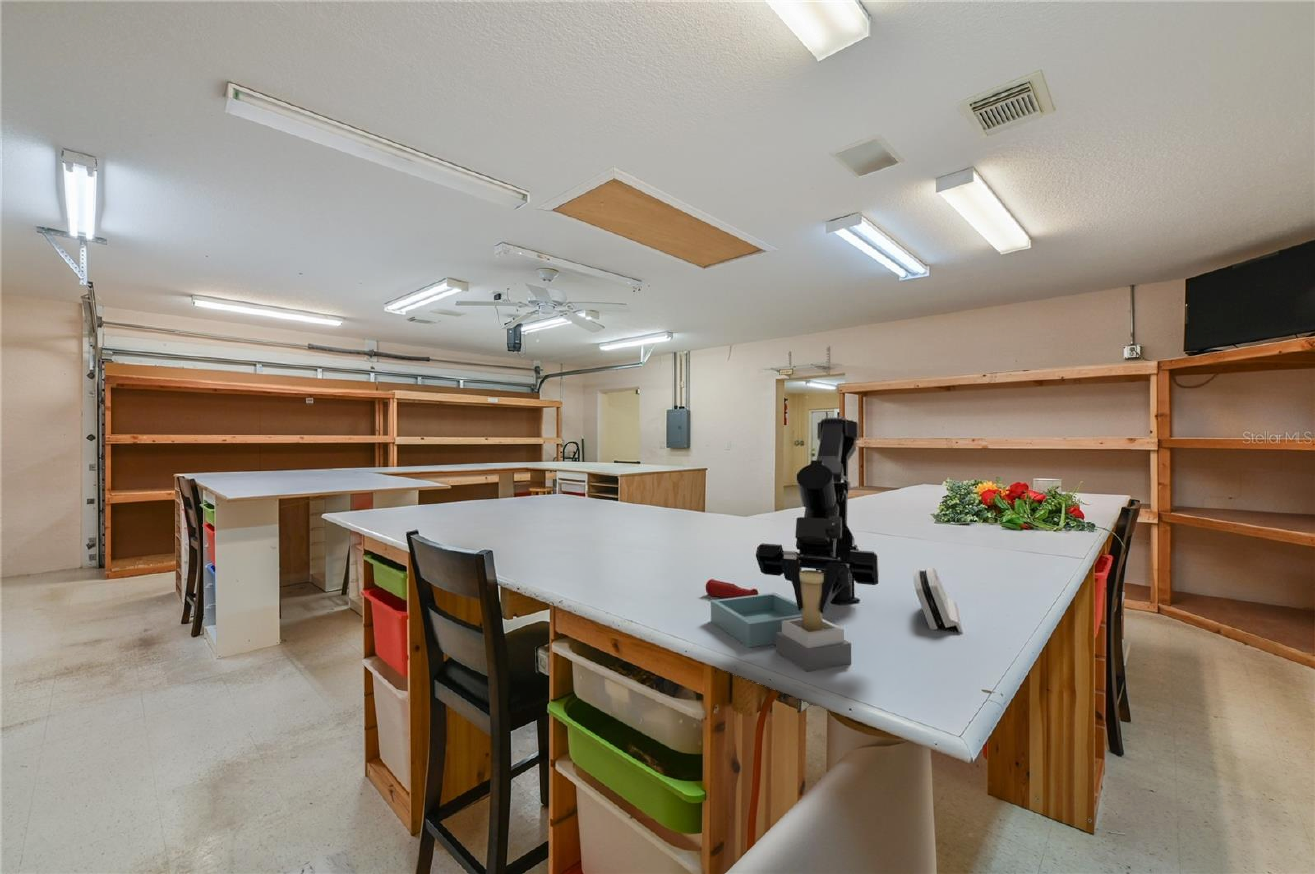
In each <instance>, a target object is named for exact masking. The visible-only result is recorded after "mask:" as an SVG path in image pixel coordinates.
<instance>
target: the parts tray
mask: <svg viewBox="0 0 1315 874" xmlns="http://www.w3.org/2000/svg"><path fill="white" fill-rule="evenodd" d="M797 618H802V609H801V611H799V610H798V606H797V601H793V600H791V599H789V598H788V597H784V596H782V595H780V594H778V593H775V592H769V593H760V594H758V595H752V596H744V597H735V598H727V599H726V598H720V599H711V600H710V621H711V622H712V623H714V624H715V625H716V626H717V627H719V628H720V629H722V630H723V631H725V632H726V633H727V634H729V635H731V636H732V637H734V638H735V639H737V640H738V641H739V642H741V643H742V644H743V645H745V646H747V647H749V648H755V647H761V646H767V645H773V644H776V632H782V621H784V620H791V619H797Z"/></svg>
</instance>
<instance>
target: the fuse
mask: <svg viewBox="0 0 1315 874" xmlns="http://www.w3.org/2000/svg"><path fill="white" fill-rule="evenodd" d="M799 578H800V581H801V582H802V627H801V628H802V629H804V630H806V631H807V632H813V631H819V630H823V629H822V619H823V613H821V612H820V604H821V597H822V583H823V582H824V573H822V572H821V571H816V570H815V569H812V570H811V569H810V570H807V569H806V570H803V569H802V570H801V571H800V572H799Z"/></svg>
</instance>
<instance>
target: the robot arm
mask: <svg viewBox="0 0 1315 874" xmlns="http://www.w3.org/2000/svg"><path fill="white" fill-rule="evenodd" d="M816 426H817V428H816V429H817V432H816V433H817V435H816V436H817V440H818V441H819V445H818V450H817V456H816V459H815V460H810V463H809V464H808V465H806V466H804V467H802V468H801V469H800V470H799V471H798V472H797V474H796V482H797V487H798V491H799V495H800V500H801V504H802V506H803V507H804V516H803V517H797V518H796V521H795V522H796V524H795V533H794V534H795V536H794V538H795V539H796V541H795V542H796V543H795V547H796V550H798V551H795V550H794V551H793V550H784V549H783V548H784V547H783V545H782V544H778V543H777V544H776V543H760V544H759V545H758V546H757V547H756V550H755V558H756V560H757V564H758V567H759V570H760V573H762V574H763V575H768V576H769V575H770V576H777V577H780V576H781V575H783V576H784V579H785V580H786V581H788V582H789V581H790V582H791V585H792V587H793V592H794V595H795V600H796V601H795V602H796V603H797V606H798V610H799V611H801V609H802V582H801V581H800V578H799V572H800V571H803V568H804V569H810V570H811V569H812V570H815V571H820V572H822V573H824V582H823V583H822V597H821V604H820V612H821V613H822V614H824V613H825V612H826V610H827V609H828V608H829V605H831V604H833V605H834V606H835V605H838V606H839V605H846V604H851V603H852V604H853V603H858V602H859V603H860V602H861V599H860V598H858V597H855V583H856V584H857V585H858V584H860V585H870V586H876V585H878V584H879V561H878V560H879V559H878V555H877V554H876V552H874V551H870V550H859V546H858V544H855V542H856V541H855V537H854V535H853V533H852V531H851V530H850V528H849V526H848V495H849V491H850V490H851V482H850V481H849V461H850V458H852V456H853V455H854V454H855V452H856V450H857V442H858V441H859V440H860V425H859V423H858V422H857V421H854V420H853V419H847V418H844V417H843V416H842V417H841V416H840V417H837V416H835V417H825V418H823V419H821V420H820V421H819V422H817V425H816Z"/></svg>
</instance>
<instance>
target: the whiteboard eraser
mask: <svg viewBox="0 0 1315 874" xmlns="http://www.w3.org/2000/svg"><path fill="white" fill-rule="evenodd" d="M912 575H913V576H912V577H913V584H914V589H915V590H914V591H915V592H916V595H917V598H918V600H919V603H920V606H921V609H922V611H923V614H924V616H925V619H926V621H927V624H928V627H929V629H930V630H932V629H934V630H939V629H938V628H940V625H941V626H942V627H944V626H945V628H950V627H954V626H955V627H956V628H957V631H958V633H959V634H964V633H963V627H962V624H961V622H962V621H961V617H960V614H959V608H958V606H957V602H956V601H955V598H953V597H950V596H948V595H947V594H946V592H945V589H944V587H943V584H942V582H941V579H940V577H939V575H938V572H937V570H936V569H935V568H934V567H929V568H928V567H927V568H926V569H925V570H921V569H919V570H917V571H915V572H913V574H912ZM936 614H937V615H936ZM934 630H933V631H934Z"/></svg>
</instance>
